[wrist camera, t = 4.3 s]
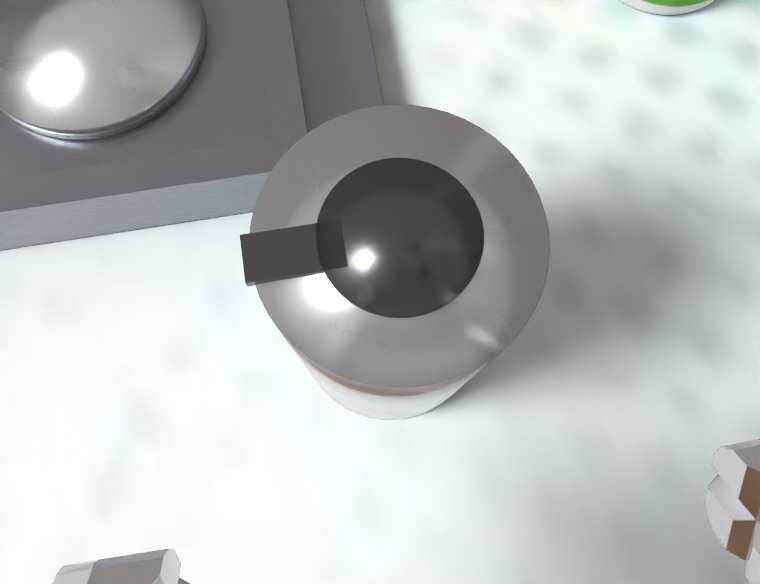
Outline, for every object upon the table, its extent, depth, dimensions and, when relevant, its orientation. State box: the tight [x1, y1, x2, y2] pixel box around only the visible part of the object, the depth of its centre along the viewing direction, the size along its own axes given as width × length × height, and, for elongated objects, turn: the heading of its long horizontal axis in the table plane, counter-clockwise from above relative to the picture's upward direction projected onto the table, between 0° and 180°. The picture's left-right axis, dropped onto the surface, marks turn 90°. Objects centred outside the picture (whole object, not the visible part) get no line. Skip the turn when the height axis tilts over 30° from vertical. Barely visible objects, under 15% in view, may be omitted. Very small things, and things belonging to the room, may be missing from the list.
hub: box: [240, 105, 550, 420], centre depth 15 cm, size 6×5×8 cm
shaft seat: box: [0, 0, 384, 250], centre depth 20 cm, size 18×13×3 cm
